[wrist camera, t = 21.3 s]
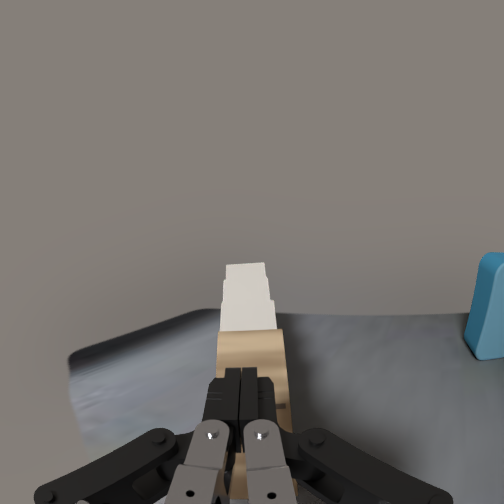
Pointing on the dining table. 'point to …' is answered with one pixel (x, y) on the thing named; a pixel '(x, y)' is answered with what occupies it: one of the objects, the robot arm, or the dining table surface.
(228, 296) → the tile
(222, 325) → the tile
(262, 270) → the white domino block
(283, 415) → the tile
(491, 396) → the dining table surface
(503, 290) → the data package
